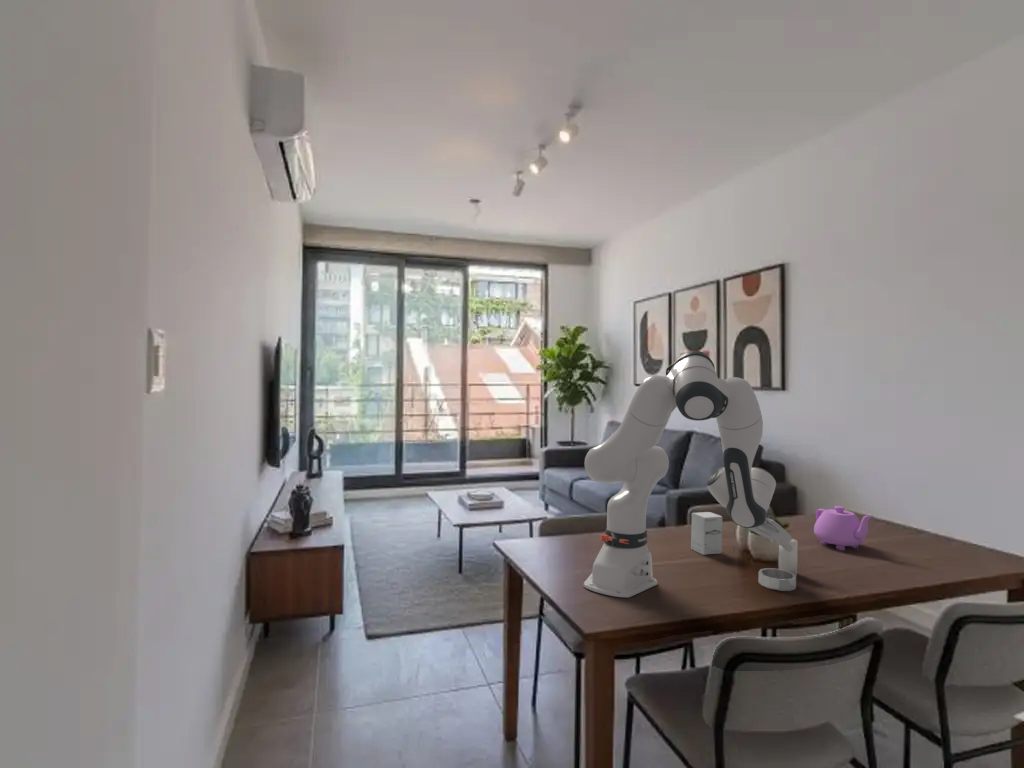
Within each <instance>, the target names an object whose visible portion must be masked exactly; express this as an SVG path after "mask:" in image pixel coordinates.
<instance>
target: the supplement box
mask: <svg viewBox="0 0 1024 768" xmlns="http://www.w3.org/2000/svg"><path fill="white" fill-rule="evenodd" d="M690 533H691V535H690V549H691V550H692V551H695V552H696V553H698V554H700V555H703V556H706V555H716V554H722V551H723V516H722V515H720V514H717V513H714V512H711V511H704V512H692V513H691V532H690Z"/></svg>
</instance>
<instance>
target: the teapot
mask: <svg viewBox="0 0 1024 768" xmlns="http://www.w3.org/2000/svg"><path fill="white" fill-rule="evenodd" d="M845 509H846V508H845V507H844V506H840V505H836V506H834V509H831V508H830V509H826V508H819V509H816V511H815V519H816V521H815V523H814V524H813V527H814V528H813V532H814V535H815V536H816V537H817V538H818V539H819V540H820V542H819V544H820V545H823V546H826V545H827V544H828V545H829V544H831V545H835V546H836V547H835V548H837V549H836V550H838V549H840V550H839V551H845V550H846V547H850V546H851V547H850V548H852V547H855V548H854V549H857V548H856V547H859V546H860V545H862V544H863V542H864V541H865V540H866V536H867V535H868V532H869V528H868V527H869V526H868V524H869V520H870V519H871V518H872V517H873V515H864V516H862V519H861V521H860V519H859V517H858V516H857V515H856V513H854V512H852V511H848V510H845ZM844 549H845V550H844Z"/></svg>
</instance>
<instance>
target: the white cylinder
mask: <svg viewBox="0 0 1024 768" xmlns="http://www.w3.org/2000/svg"><path fill="white" fill-rule="evenodd" d="M789 544H790V545H791V546H792V547H793V550H792V551H791V552H788V551H786V550H785V549H784V548H783V546H781V545H779V544H778V569H781V570H786V571H788V572H791V573H793V574H794V575H795V576H796V577H797V576H798V540H797V539H794V538H792V540H791V542H790V543H789Z"/></svg>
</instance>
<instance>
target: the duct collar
mask: <svg viewBox="0 0 1024 768" xmlns="http://www.w3.org/2000/svg"><path fill="white" fill-rule="evenodd" d="M758 584H760V585H761V586H762V587H765V588H766V589H770V590H775V591H778V592H779V591H781V592H790V591H794V590H796V588H797V576H795V575H794V574H793V573H791V572H788V571H786V570H781V569H779V568H775V567H774V568H773V567H772V568H771V567H769V568H768V567H766V568H760V569H759V571H758Z"/></svg>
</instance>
